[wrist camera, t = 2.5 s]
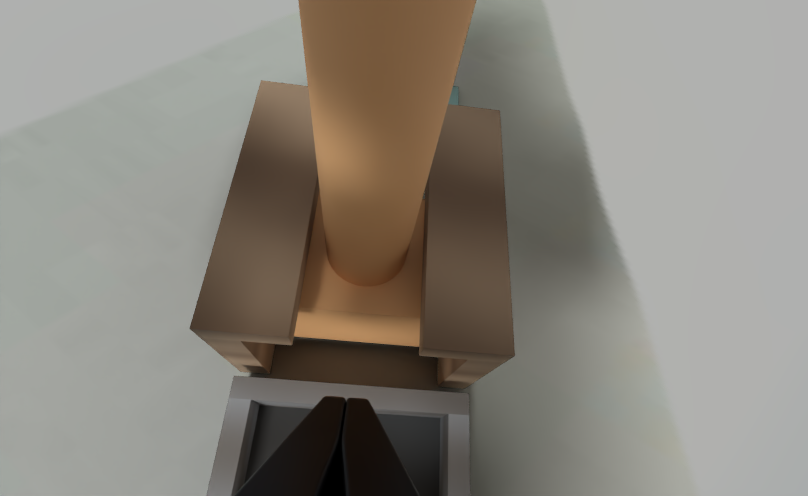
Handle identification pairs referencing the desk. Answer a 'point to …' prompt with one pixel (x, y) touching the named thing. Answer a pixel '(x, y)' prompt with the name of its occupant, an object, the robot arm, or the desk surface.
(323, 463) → the robot arm
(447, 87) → the slider
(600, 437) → the desk surface
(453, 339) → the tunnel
